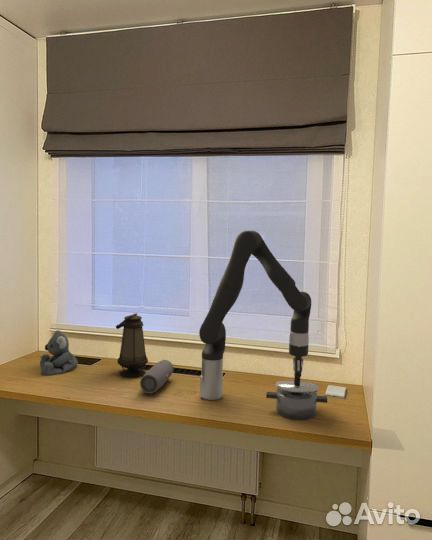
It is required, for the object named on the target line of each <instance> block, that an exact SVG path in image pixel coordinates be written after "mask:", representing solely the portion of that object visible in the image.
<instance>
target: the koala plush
mask: <svg viewBox="0 0 432 540" xmlns="http://www.w3.org/2000/svg"><path fill="white" fill-rule="evenodd" d="M69 344H70V343H69V339H68V337H67V336H66V334H64V333H62V332H61V330H59V329H56V330H54V331H53V334H52V336H51V337H50V339H49V340H48V342H47V344H45V345H44V349H45V351H47V352H48V353H49V354H50V355H52V356H50V355H49V354H45V353H43V354H42V355H41V358H40V361H39V366H40V368H41V372H40V374H41V375H42V376H54V375H61V374H64V373H66V372H70V371H72V370H75V369H77V368H78V365H79V362H78V359H77V358H76V356H75V355H74V354H73V353H71V352H70V350H69V349H70V348H69V347H70V345H69Z"/></svg>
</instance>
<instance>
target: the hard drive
mask: <svg viewBox="0 0 432 540" xmlns="http://www.w3.org/2000/svg"><path fill="white" fill-rule="evenodd" d="M346 392H347V387H346V386H339V385H332V384H331V385H330V384H329V385H328V386H327V388H326V391H325V394H324V396H327V398H335V399H345V396H346Z"/></svg>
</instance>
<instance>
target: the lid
mask: <svg viewBox="0 0 432 540" xmlns="http://www.w3.org/2000/svg"><path fill="white" fill-rule="evenodd" d="M275 388H276V390H277V389H280V390H283V391H289V392H297V393H313V392H316V393H317V392H319V389H320V388H319V385H318V384H316V383H313V382H306V381H301V380H300V386H296V385H294V380H279V381H276V382H275Z"/></svg>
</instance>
